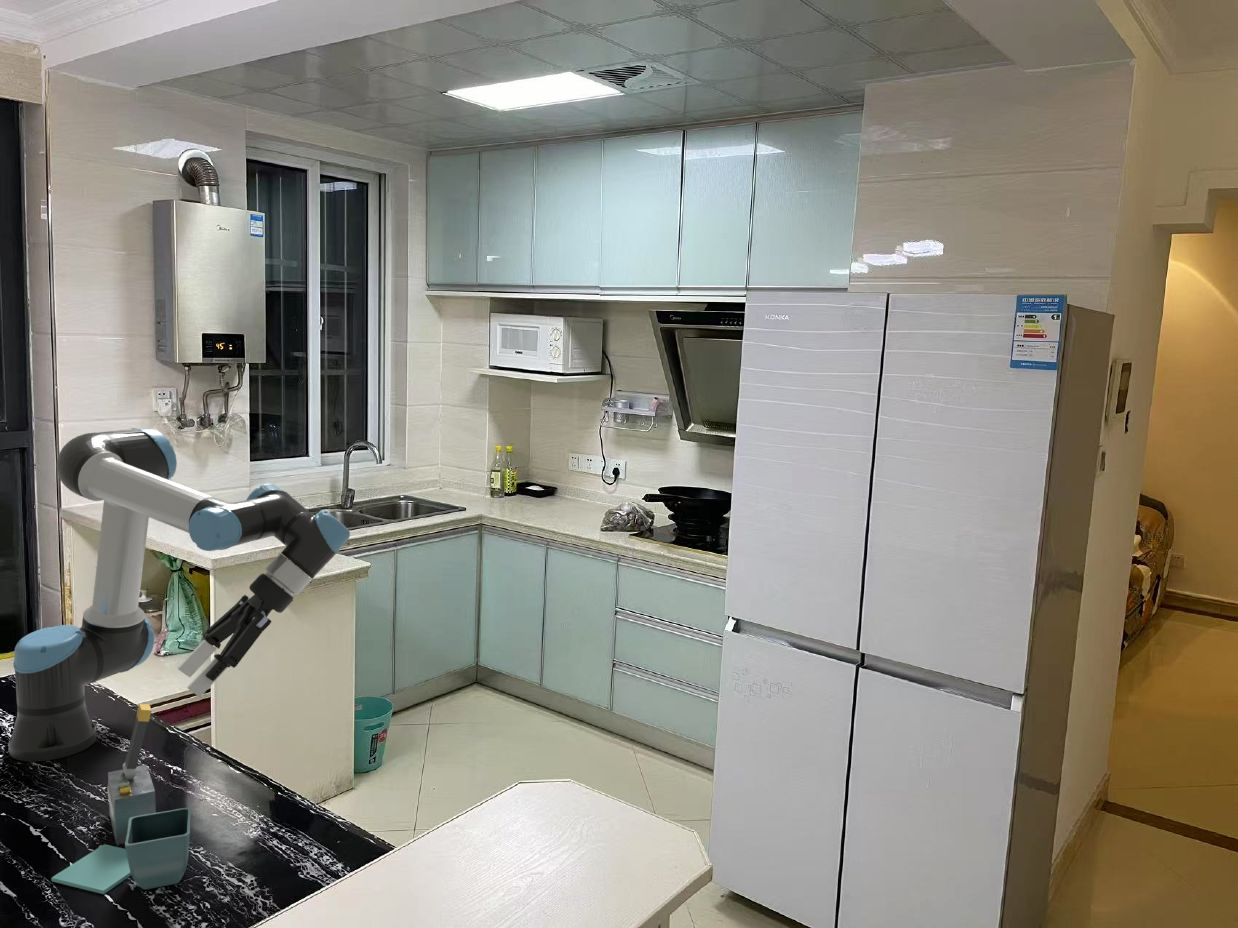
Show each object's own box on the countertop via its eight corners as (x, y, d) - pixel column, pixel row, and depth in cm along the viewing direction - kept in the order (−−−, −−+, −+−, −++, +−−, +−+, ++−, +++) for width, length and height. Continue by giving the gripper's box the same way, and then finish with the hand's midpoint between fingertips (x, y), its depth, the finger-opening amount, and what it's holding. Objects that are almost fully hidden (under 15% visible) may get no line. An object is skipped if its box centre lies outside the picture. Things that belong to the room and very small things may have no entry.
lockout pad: (104, 847, 152) (104, 844, 152) (154, 859, 149) (154, 855, 149) (51, 881, 142) (51, 877, 142) (103, 894, 139) (103, 890, 139)
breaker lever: (131, 769, 161) (148, 703, 162) (134, 779, 158) (152, 711, 158) (121, 769, 160) (139, 702, 161) (124, 779, 157) (141, 710, 157)
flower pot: (126, 901, 138) (124, 845, 137) (131, 869, 146) (129, 816, 145) (191, 888, 141) (189, 834, 140) (192, 858, 149) (191, 806, 148)
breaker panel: (148, 806, 165) (146, 760, 163) (156, 835, 156) (154, 786, 154) (108, 815, 161) (106, 768, 160) (115, 845, 152) (112, 795, 151)
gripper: (311, 612, 162) (217, 716, 155) (279, 582, 180) (194, 673, 174) (279, 586, 158) (181, 692, 152) (250, 558, 177) (162, 651, 170)
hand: (188, 682), depth 163 cm, fingers open, 10 cm apart
